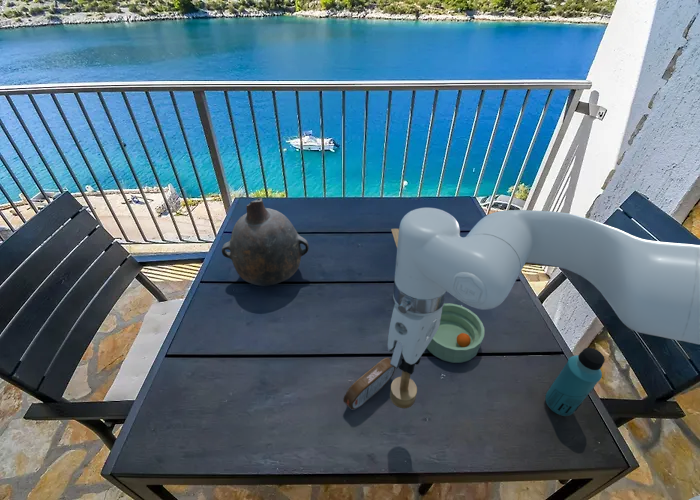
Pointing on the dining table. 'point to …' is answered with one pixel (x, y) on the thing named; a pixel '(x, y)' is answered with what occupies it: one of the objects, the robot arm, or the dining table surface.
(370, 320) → the dining table surface
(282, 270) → the jug
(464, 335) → the ball
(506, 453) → the dining table surface
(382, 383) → the tin
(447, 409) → the dining table surface
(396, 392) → the wooden pestle
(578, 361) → the beverage bottle
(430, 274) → the robot arm
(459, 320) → the bowl
